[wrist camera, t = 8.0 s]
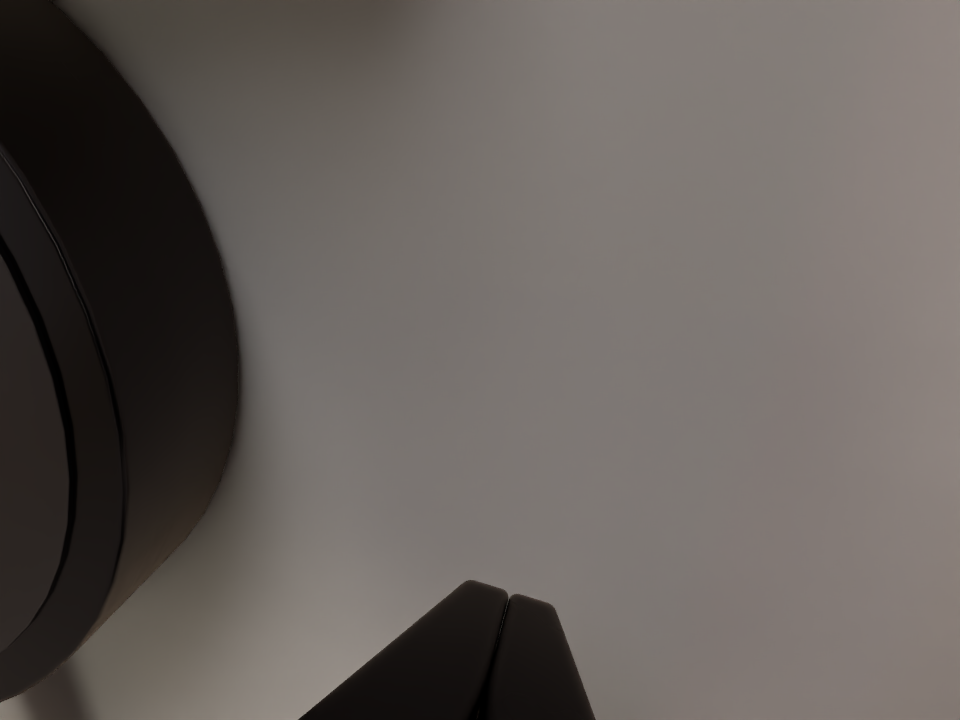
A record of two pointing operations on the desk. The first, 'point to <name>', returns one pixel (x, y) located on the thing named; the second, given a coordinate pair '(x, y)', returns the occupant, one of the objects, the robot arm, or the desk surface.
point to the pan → (96, 345)
